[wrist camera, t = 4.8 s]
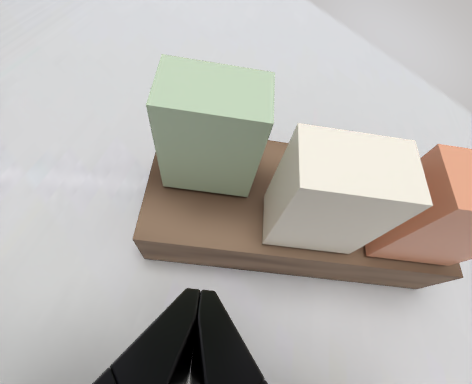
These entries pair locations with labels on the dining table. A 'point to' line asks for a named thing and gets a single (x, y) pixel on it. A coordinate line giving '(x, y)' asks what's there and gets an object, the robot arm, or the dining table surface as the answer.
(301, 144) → the cream key
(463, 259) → the terracotta key
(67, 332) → the dining table surface
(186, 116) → the sage key
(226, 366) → the robot arm
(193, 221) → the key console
